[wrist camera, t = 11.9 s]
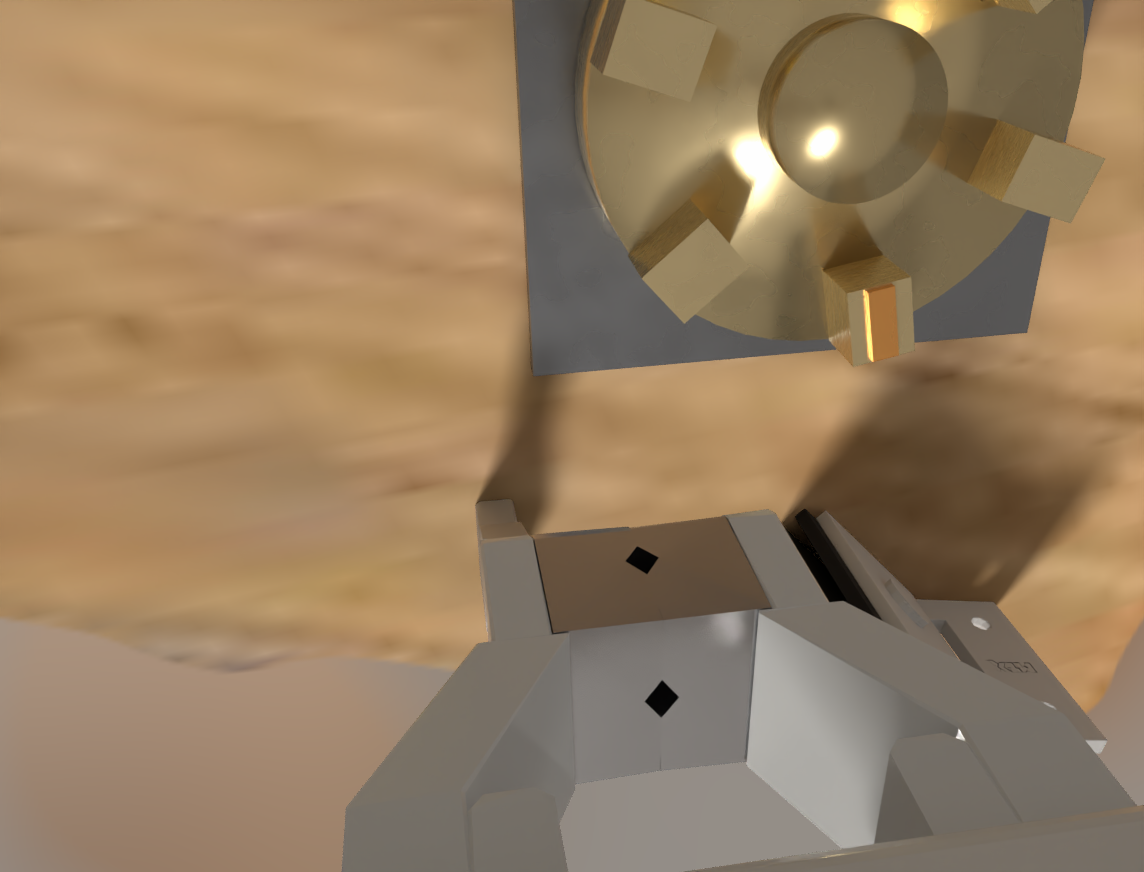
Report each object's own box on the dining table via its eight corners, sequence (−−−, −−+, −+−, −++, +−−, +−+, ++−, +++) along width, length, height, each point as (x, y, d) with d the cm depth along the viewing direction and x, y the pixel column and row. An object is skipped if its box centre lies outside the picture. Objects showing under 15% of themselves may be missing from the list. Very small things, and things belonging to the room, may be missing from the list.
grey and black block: (998, 602, 54) (1113, 743, 45) (930, 672, 56) (1028, 821, 47) (805, 495, 49) (892, 631, 40) (737, 576, 51) (806, 723, 42)
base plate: (531, 368, 44) (533, 377, 43) (499, -253, 33) (501, -256, 32) (1017, 325, 46) (1028, 333, 45) (1132, -264, 36) (1149, -267, 35)
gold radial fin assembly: (524, -119, 34) (545, -119, 29) (1042, -248, 34) (1150, -268, 30) (623, 359, 43) (652, 422, 38) (1035, 252, 43) (1117, 300, 38)
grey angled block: (517, 572, 49) (536, 688, 42) (480, 576, 48) (493, 693, 41) (510, 441, 45) (530, 543, 38) (471, 444, 45) (484, 548, 38)
